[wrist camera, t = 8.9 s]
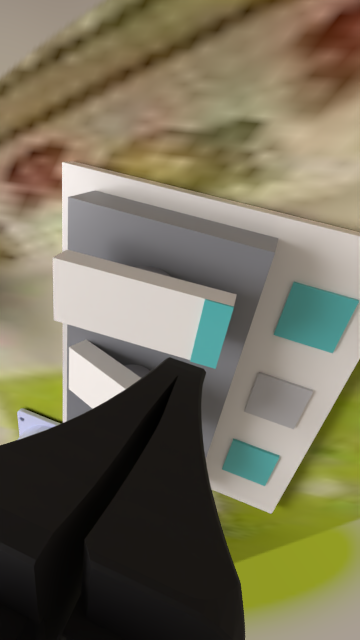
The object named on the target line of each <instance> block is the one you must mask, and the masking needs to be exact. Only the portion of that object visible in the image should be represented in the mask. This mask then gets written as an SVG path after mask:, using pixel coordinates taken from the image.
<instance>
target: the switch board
mask: <svg viewBox="0 0 360 640" xmlns="http://www.w3.org/2000/svg"><path fill="white" fill-rule="evenodd" d="M65 250H71V251H75V252H78V253H82V254H86V255H90V256H94V257H97V258H101V259H105V260H109V261H112V262H116V263H120V264H124V265H128V266H131V267H136V266H148V267H154V268H157V269H160V270H163V271H165V272H166V273H168V274H169V276H170V277H173V278H177V279H180V280H184V281H188V282H192V283H195V284H199V285H203V286H207V287H210V288H214V289H218V290H222V291H226V292H229V293H233V294H237V295H236V300H235V304H234V308H233V312H232V315H231V319H230V322H229V325H228V329H227V332H226V335H225V339H224V342H223V346H222V349H221V352H220V356H219V359H218V362H217V366H216V369H214V368H211V367H207V366H204V365H200V364H197V363H193V362H190V360H188V359H185V358H181V357H178V356H174V355H171V354H167V353H164V352H161V351H157V350H154V349H150V348H147V347H144V346H140V345H137V344H133V343H130V342H126V341H123V340H120V339H116V338H113V337H109V336H106V335H103V334H99V333H96V332H92V331H89V330H85V329H82V328H79V327H75V326H72V325H68V324H65V323H63V423H64V422H66V421H68V420H70V419H73V418H75V417H77V416H79V415H81V414H83V413H85V412H87V411H89V410H91V409H92V408H91V407H90V406H89V405H87V404H86V403H85V402H84V401H83V400H81V399H80V398H79V397H78V396H77V395H75V394H74V393H73V392H72V391H71V390H69V347H70V346H72V345H75V344H77V343H79V342H81V341H84V340H88V341H89V342H91V343H92V344H94V345H95V346H96V347H98V348H99V349H101V350H102V351H104V352H105V353H106V354H108V355H109V356H111V357H112V358H114V359H115V360H116V361H118V362H119V363H121V364H122V365H124V366H126V365H131V364H134V365H140V366H143V367H145V368H147V369H148V370H149V371H152V370H153V369H154V368H155V367H157V366H158V365H159V364H160V363H162V362H163V361H164V360H165V359H166V358H169V357H171V358H174V359H177V360H180V361H183V362H186V363H188V364H191V365H194V366H197V367H200V368H203V369H204V370H205V371H206V375H205V379H204V382H203V387H202V399H201V418H202V434H203V444H204V452H205V459H206V465H207V470H208V475H209V480H210V485H211V489H212V490H214V491H217V492H219V493H222V494H224V495H226V496H229V497H231V498H234V499H236V500H239V501H241V502H244V503H246V504H249V505H251V506H254V507H256V508H258V509H261V510H263V511H266V512H268V513H271V514H272V512H273V511H274V509H275V507H276V505H277V503H278V502H279V500H280V498H281V496H282V495H283V493H284V491H285V489H286V488H287V486H288V484H289V482H290V481H291V479H292V477H293V475H294V474H295V472H296V470H297V468H298V466H299V465H300V463H301V461H302V459H303V458H304V456H305V454H306V452H307V451H308V449H309V447H310V445H311V444H312V442H313V440H314V438H315V437H316V435H317V433H318V431H319V429H320V428H321V426H322V424H323V422H324V421H325V419H326V417H327V415H328V414H329V412H330V410H331V408H332V407H333V405H334V403H335V401H336V399H337V398H338V396H339V394H340V392H341V391H342V389H343V387H344V385H345V384H346V382H347V380H348V378H349V377H350V375H351V373H352V371H353V370H354V368H355V366H356V364H357V362H358V361H359V359H360V232H357V231H353V230H349V229H345V228H341V227H337V226H333V225H329V224H325V223H321V222H317V221H313V220H309V219H305V218H301V217H297V216H293V215H289V214H285V213H280V212H276V211H272V210H268V209H264V208H260V207H256V206H252V205H248V204H244V203H240V202H236V201H232V200H228V199H224V198H220V197H216V196H212V195H208V194H204V193H200V192H196V191H191V190H187V189H183V188H179V187H175V186H171V185H167V184H163V183H159V182H155V181H151V180H147V179H143V178H139V177H135V176H131V175H127V174H123V173H119V172H115V171H111V170H107V169H103V168H98V167H94V166H90V165H86V164H82V163H78V162H74V161H69V162H62V252H63V251H65Z"/></svg>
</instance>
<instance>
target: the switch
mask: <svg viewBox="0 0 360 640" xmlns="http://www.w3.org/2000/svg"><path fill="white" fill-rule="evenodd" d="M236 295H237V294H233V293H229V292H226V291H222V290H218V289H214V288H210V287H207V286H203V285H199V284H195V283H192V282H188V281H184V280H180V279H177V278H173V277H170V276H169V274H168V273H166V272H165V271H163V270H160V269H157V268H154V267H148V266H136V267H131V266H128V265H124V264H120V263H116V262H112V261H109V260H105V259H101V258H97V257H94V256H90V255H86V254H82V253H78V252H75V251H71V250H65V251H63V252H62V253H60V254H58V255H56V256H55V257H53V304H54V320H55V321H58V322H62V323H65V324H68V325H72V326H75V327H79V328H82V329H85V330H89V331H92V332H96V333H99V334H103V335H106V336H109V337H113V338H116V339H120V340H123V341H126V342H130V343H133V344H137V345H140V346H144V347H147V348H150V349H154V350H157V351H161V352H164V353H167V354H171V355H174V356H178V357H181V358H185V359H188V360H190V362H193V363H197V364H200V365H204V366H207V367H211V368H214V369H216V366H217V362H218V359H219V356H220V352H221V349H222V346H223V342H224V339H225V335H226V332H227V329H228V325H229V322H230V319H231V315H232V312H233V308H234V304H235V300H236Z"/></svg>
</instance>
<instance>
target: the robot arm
mask: <svg viewBox="0 0 360 640" xmlns="http://www.w3.org/2000/svg"><path fill="white" fill-rule="evenodd" d="M205 375H206V371H205V370H204V369H203V368H200V367H197V366H194V365H191V364H188V363H186V362H183V361H180V360H177V359H174V358H171V357H169V358H166V359H165V360H164V361H163V362H162V363H160V364H159V365H158V366H157V367H155V368H154V369H153V370H152V371H150V372H149V373H148V374H146V375H145V376H144V377H142V378H141V379H140V380H138V381H137V382H135V383H134V384H132V385H131V386H130V387H128V388H127V389H125V390H124V391H122V392H120V393H119V394H117V395H115V396H114V397H112V398H111V399H109V400H107V401H106V402H104V403H102V404H100V405H99V406H97V407H95V408H93V409H91V410H89V411H87V412H85V413H83V414H81V415H79V416H77V417H75V418H73V419H70V420H68V421H66V422H64V423H61V424H60V423H58V422H55V421H53V420H51V419H48V418H46V417H43V416H41V415H38V414H36V413H33V412H31V411H28V410H26V409H20V410H19V411H18V412H17V415H18V425H19V435H20V437H19V438H18V439H17V440H16V441H13V442H10V443H7V444H4V445H0V640H245V622H244V610H243V601H242V591H241V583H240V580H239V577H238V575H237V572H236V569H235V566H234V564H233V561H232V558H231V555H230V552H229V549H228V546H227V543H226V540H225V537H224V534H223V530H222V527H221V524H220V521H219V517H218V513H217V509H216V505H215V501H214V497H213V494H212V490H211V485H210V480H209V475H208V470H207V465H206V459H205V452H204V444H203V434H202V418H201V399H202V387H203V382H204V379H205Z"/></svg>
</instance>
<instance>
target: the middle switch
mask: <svg viewBox="0 0 360 640" xmlns="http://www.w3.org/2000/svg"><path fill="white" fill-rule="evenodd" d="M149 372H150V371H149V370H148V369H147V368H145V367H143V366H140V365H134V364H131V365H126V366H124V365H122V364H121V363H119V362H118V361H116V360H115V359H114V358H112V357H111V356H109V355H108V354H106V353H105V352H104V351H102V350H101V349H99V348H98V347H96V346H95V345H94V344H92V343H91V342H89V341H88V340H84V341H81V342H79V343H77V344H75V345H72V346H70V347H69V390H71V391H72V392H73V393H74V394H75V395H77V396H78V397H79V398H80V399H81V400H83V401H84V402H85V403H86V404H87V405H89V406H90V407H91V408H92V409H93V408H95V407H97V406H99V405H100V404H102V403H104V402H106V401H107V400H109V399H111V398H112V397H114V396H115V395H117V394H119V393H120V392H122V391H124V390H125V389H127V388H128V387H130V386H131V385H132V384H134V383H135V382H137V381H138V380H140V379H141V378H142V377H144V376H145V375H146V374H148V373H149Z"/></svg>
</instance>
